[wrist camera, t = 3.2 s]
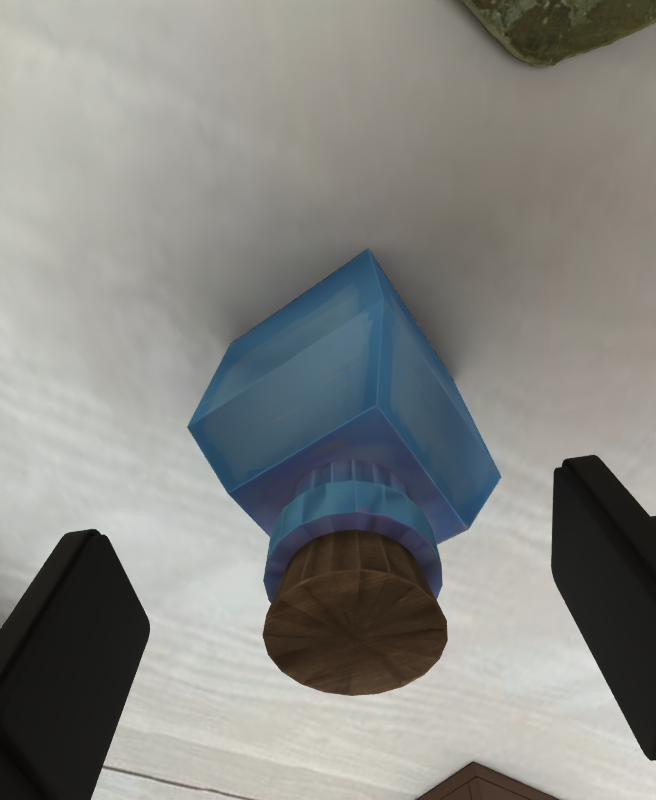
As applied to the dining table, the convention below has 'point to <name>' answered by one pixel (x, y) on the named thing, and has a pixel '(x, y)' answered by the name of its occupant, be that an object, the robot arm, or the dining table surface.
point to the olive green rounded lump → (560, 25)
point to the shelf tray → (483, 787)
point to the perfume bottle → (347, 478)
